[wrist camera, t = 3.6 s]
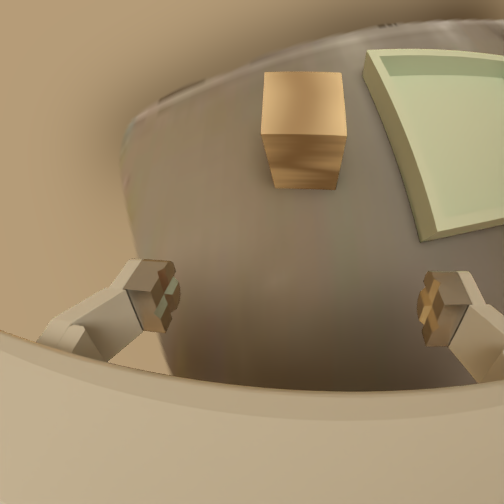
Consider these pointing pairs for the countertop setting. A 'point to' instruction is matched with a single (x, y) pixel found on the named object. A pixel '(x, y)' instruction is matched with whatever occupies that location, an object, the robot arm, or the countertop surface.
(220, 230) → the countertop surface
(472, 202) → the tray
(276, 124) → the block
